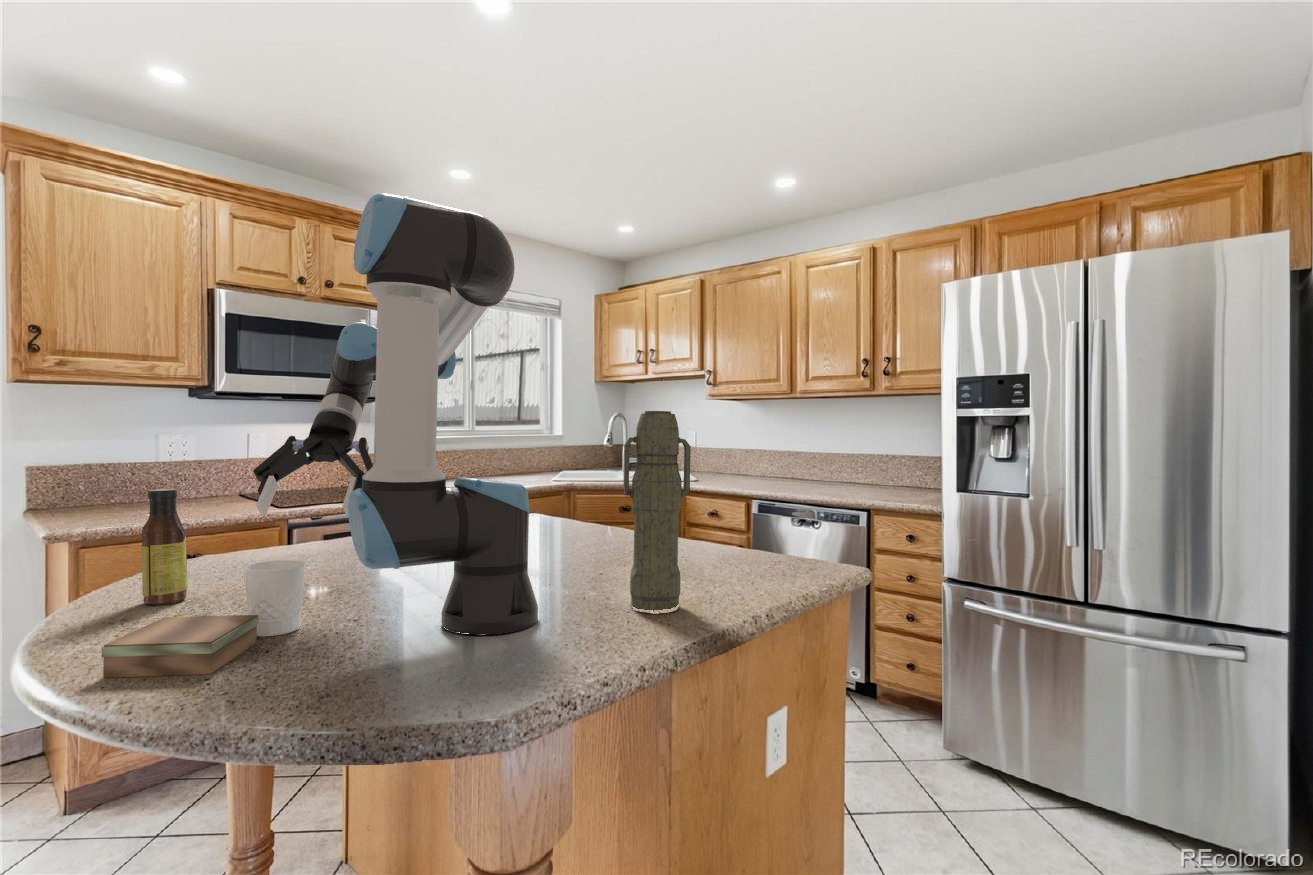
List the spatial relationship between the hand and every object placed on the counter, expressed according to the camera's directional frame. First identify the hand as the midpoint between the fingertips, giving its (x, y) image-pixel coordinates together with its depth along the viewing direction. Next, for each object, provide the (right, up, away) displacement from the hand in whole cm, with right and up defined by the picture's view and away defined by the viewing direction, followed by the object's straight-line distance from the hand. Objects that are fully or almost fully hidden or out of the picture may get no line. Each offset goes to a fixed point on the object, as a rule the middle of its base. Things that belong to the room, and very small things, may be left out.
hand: (304, 510), depth 108 cm
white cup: (+2, -17, -11) cm, 20 cm away
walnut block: (-2, -17, -24) cm, 29 cm away
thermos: (+60, -18, +5) cm, 63 cm away
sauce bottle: (-27, -17, +4) cm, 32 cm away
